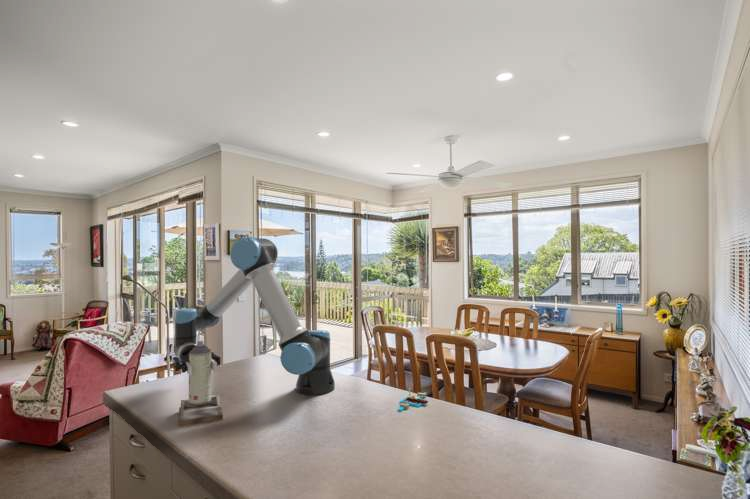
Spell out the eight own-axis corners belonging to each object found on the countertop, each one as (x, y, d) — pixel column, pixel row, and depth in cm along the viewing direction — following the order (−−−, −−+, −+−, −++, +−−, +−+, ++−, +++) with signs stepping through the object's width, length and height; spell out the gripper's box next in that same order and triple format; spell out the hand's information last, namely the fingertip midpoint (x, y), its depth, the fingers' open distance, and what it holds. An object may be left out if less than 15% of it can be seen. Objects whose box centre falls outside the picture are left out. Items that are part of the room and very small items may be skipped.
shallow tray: (220, 405, 142) (220, 394, 142) (222, 419, 130) (222, 406, 130) (179, 411, 136) (179, 399, 136) (178, 426, 124) (178, 413, 125)
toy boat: (438, 398, 149) (416, 393, 154) (438, 383, 149) (416, 379, 155) (413, 416, 133) (389, 410, 138) (413, 399, 133) (388, 394, 138)
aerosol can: (194, 398, 137) (194, 339, 137) (214, 398, 137) (214, 339, 137) (184, 405, 130) (185, 343, 130) (205, 405, 130) (206, 343, 130)
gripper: (218, 360, 154) (234, 375, 135) (160, 369, 143) (169, 386, 124) (218, 341, 154) (234, 353, 135) (160, 347, 143) (169, 362, 124)
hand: (203, 369), depth 129 cm, fingers closed on aerosol can, 7 cm apart
